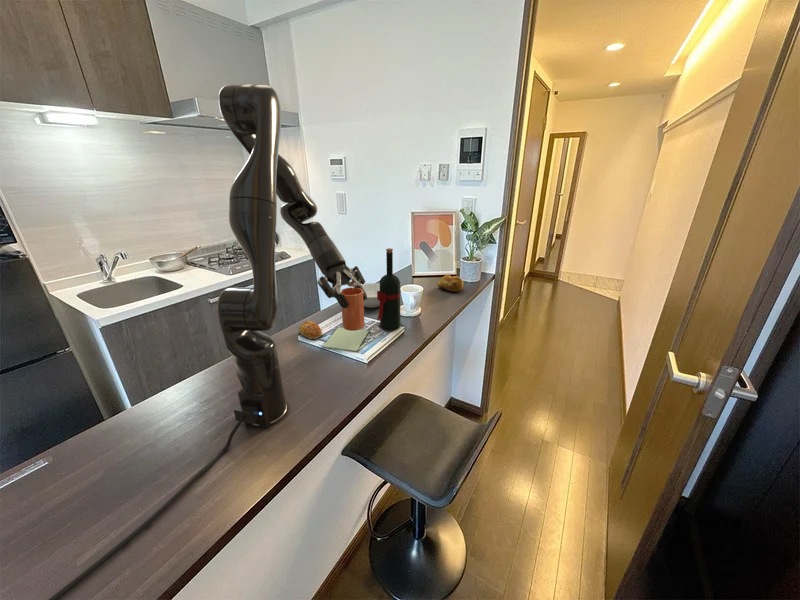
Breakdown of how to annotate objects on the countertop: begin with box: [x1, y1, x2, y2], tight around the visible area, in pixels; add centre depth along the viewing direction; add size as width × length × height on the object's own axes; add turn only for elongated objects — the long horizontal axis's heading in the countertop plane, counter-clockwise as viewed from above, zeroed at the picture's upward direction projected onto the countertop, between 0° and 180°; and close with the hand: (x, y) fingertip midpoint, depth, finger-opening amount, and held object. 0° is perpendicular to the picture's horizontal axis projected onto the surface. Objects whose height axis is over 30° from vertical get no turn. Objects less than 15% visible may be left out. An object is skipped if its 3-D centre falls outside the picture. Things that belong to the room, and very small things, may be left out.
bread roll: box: [437, 274, 464, 293], centre depth 158 cm, size 13×10×8 cm
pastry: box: [298, 320, 323, 340], centre depth 117 cm, size 9×7×4 cm
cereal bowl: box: [362, 282, 380, 309], centre depth 141 cm, size 17×17×7 cm
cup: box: [341, 287, 365, 331], centre depth 94 cm, size 6×6×11 cm
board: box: [322, 326, 370, 352], centre depth 115 cm, size 14×12×1 cm
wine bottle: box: [377, 247, 401, 332], centre depth 117 cm, size 8×10×30 cm
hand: (355, 303), depth 92 cm, fingers closed on cup, 6 cm apart
